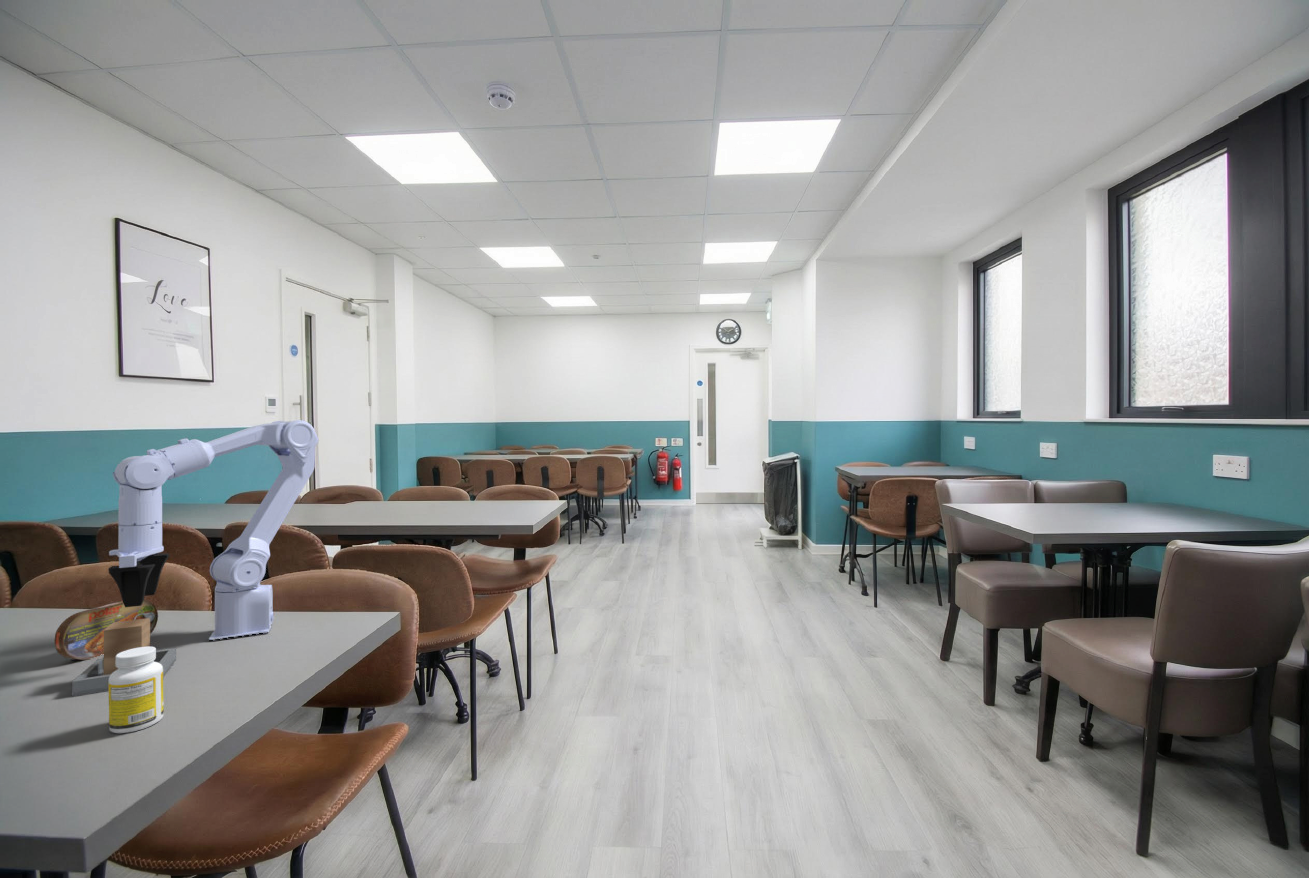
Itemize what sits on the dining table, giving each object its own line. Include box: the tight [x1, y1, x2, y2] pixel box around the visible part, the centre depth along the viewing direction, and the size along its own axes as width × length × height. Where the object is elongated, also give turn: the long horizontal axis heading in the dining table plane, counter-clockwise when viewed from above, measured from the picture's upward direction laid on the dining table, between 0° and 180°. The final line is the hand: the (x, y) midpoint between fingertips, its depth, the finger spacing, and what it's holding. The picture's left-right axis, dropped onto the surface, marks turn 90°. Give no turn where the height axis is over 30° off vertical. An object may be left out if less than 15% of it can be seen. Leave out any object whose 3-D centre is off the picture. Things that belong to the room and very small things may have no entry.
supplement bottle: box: [108, 646, 165, 734], centre depth 75 cm, size 5×5×10 cm
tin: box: [54, 598, 159, 661], centre depth 102 cm, size 15×3×8 cm, turn 168°
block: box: [103, 618, 151, 675], centre depth 90 cm, size 4×4×8 cm
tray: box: [71, 647, 177, 697], centre depth 90 cm, size 10×10×2 cm
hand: (140, 600), depth 99 cm, fingers open, 7 cm apart
